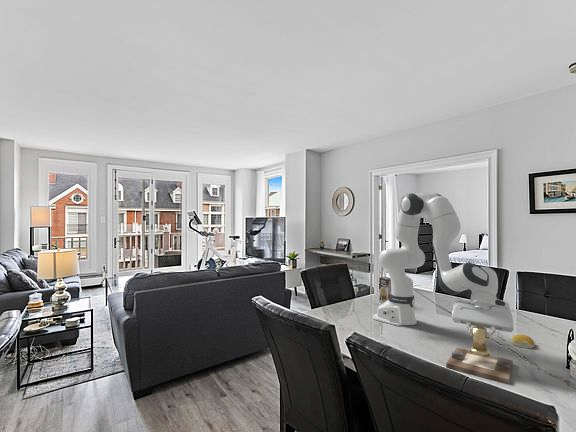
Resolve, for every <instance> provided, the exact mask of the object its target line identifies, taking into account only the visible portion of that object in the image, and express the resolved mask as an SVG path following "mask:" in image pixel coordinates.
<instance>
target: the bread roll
mask: <svg viewBox="0 0 576 432" xmlns="http://www.w3.org/2000/svg"><path fill="white" fill-rule="evenodd" d="M510 341H511V343H512V345H514V346H516V347H518V348H523V349H533V348H534V347H535V346H536V345H535V343H536V342H535V341H534V339H532V338H531V337H530V336H528V335H525V334H515V335H513V336H512V337H511V338H510Z"/></svg>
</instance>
